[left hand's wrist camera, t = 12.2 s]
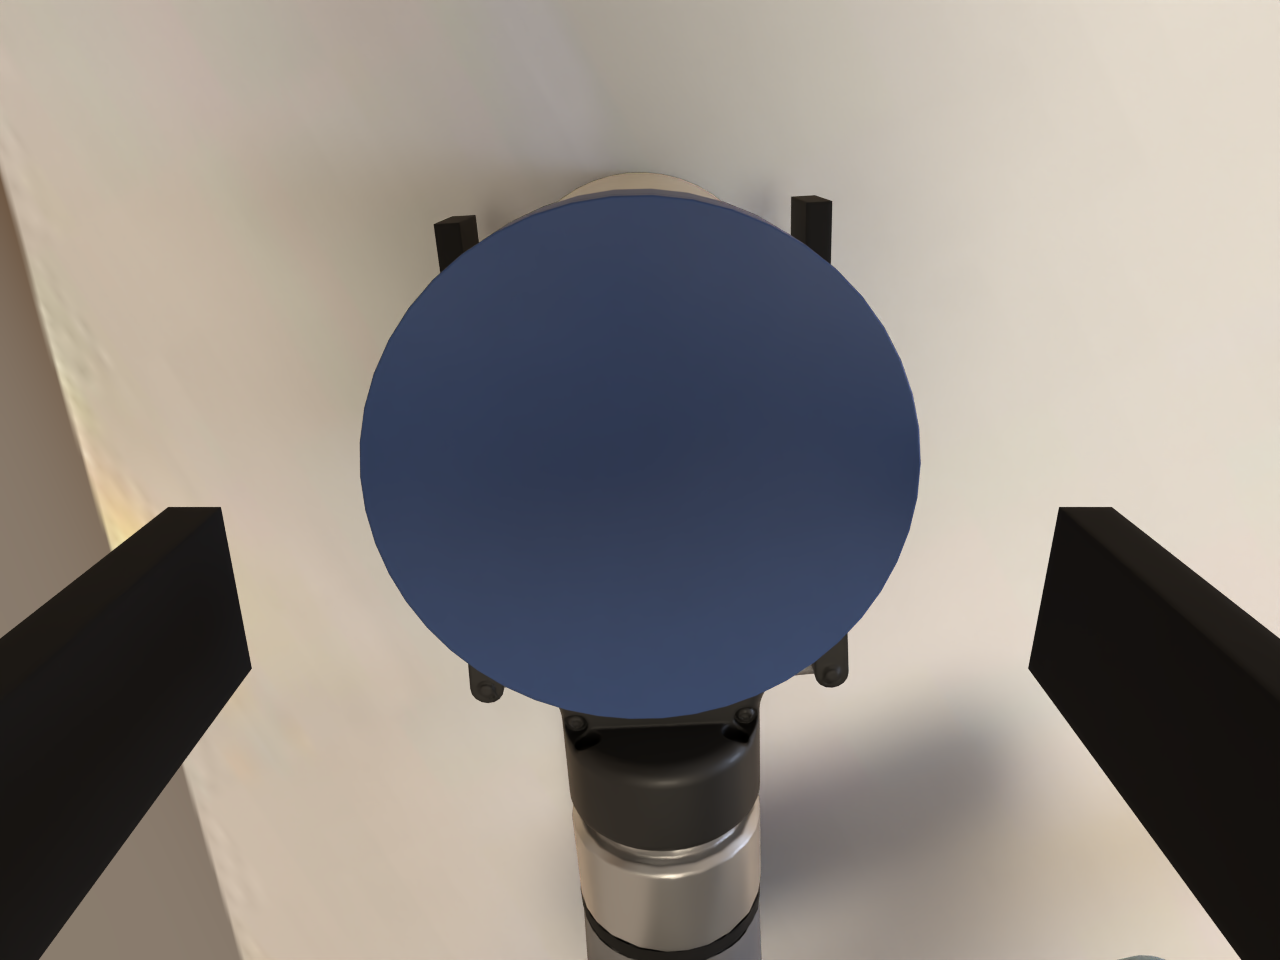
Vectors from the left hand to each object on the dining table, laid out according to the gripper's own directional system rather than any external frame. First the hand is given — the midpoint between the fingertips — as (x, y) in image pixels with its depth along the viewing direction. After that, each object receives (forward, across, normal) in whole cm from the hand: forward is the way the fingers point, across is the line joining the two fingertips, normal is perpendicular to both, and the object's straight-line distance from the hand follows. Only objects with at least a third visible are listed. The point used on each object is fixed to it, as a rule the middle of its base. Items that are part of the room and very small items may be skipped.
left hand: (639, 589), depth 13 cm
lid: (+4, 0, 0) cm, 4 cm away
